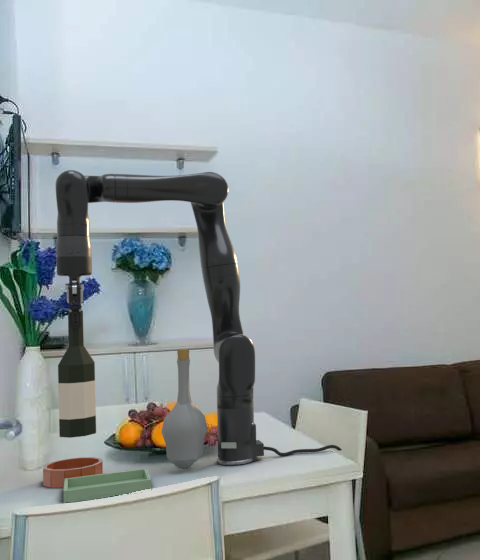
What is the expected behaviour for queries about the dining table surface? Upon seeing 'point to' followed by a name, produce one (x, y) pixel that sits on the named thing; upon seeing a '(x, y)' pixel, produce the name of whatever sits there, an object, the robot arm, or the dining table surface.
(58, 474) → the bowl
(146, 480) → the tray
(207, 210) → the robot arm
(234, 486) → the dining table surface
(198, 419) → the bottle
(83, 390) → the wine bottle
